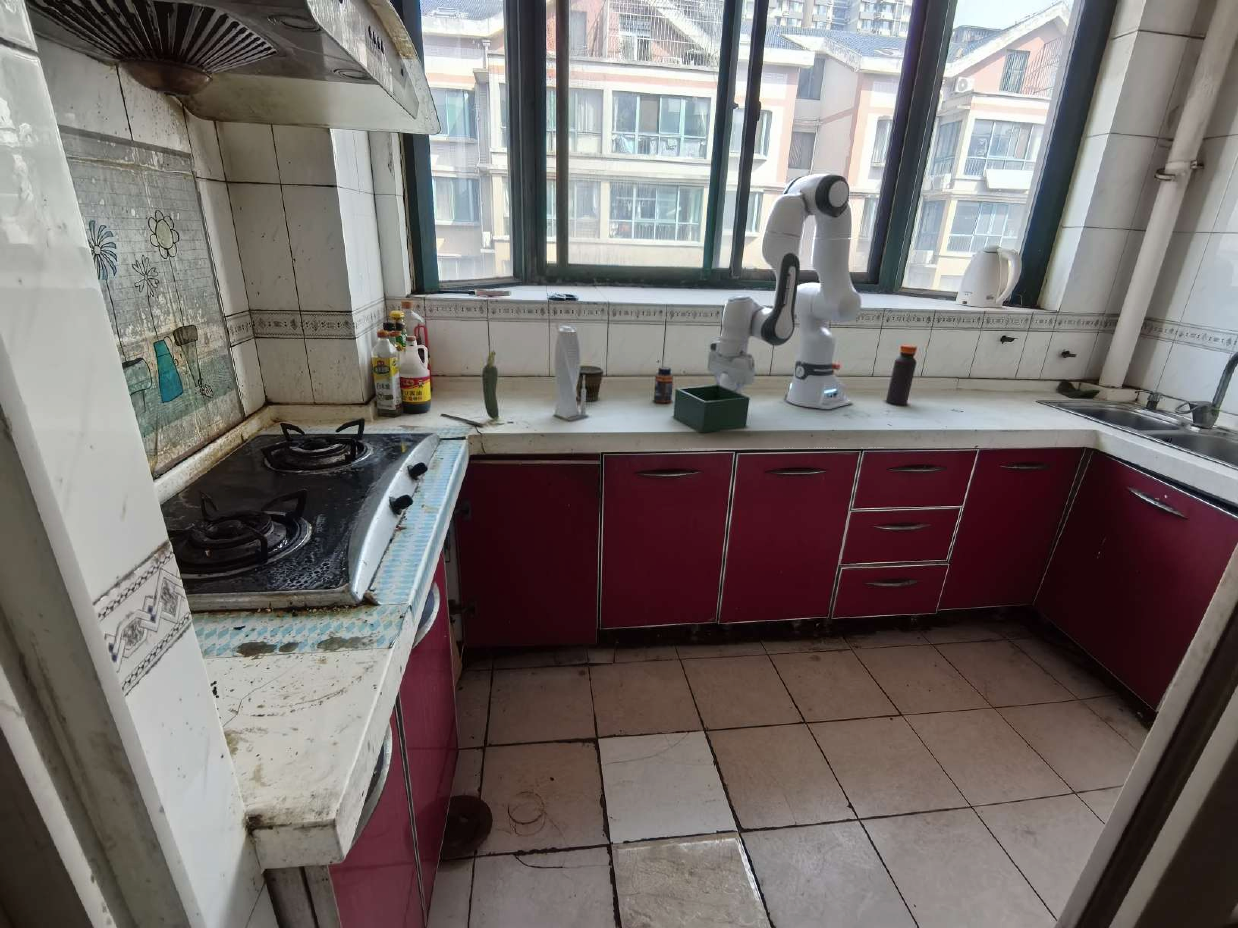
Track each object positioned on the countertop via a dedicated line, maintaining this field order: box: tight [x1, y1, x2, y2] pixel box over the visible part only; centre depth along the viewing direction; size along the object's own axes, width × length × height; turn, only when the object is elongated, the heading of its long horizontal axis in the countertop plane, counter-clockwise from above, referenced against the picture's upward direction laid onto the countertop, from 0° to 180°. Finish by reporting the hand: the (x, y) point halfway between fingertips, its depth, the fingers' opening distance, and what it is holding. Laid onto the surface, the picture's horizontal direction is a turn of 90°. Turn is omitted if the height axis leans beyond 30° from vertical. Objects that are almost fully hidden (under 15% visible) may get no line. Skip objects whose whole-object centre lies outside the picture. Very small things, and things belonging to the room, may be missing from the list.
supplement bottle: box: [653, 366, 674, 404], centre depth 195 cm, size 6×6×11 cm
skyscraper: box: [553, 321, 588, 422], centre depth 172 cm, size 8×8×28 cm
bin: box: [673, 384, 751, 434], centre depth 176 cm, size 16×16×9 cm
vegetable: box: [481, 350, 500, 421], centre depth 167 cm, size 4×4×20 cm
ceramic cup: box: [575, 365, 604, 402], centre depth 193 cm, size 13×10×10 cm
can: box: [719, 372, 737, 391], centre depth 190 cm, size 6×6×12 cm
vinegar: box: [885, 344, 918, 406], centre depth 204 cm, size 7×7×20 cm
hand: (727, 391), depth 190 cm, fingers open, 8 cm apart
